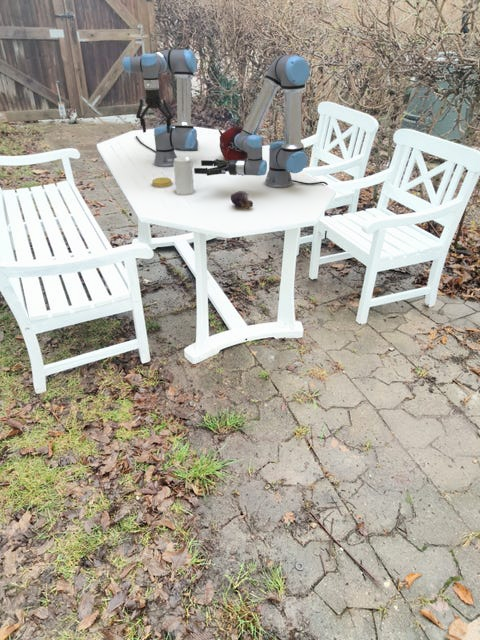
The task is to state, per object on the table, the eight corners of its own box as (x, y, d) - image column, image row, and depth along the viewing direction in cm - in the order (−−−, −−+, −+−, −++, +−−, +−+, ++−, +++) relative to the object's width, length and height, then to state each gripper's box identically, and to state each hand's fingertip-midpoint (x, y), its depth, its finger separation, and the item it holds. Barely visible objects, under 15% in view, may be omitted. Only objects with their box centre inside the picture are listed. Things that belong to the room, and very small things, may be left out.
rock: (244, 204, 234) (227, 207, 230) (243, 188, 230) (225, 190, 226) (255, 208, 224) (237, 211, 220) (254, 190, 221) (236, 193, 216)
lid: (149, 183, 261) (149, 179, 260) (166, 180, 266) (166, 176, 264) (157, 188, 253) (156, 184, 252) (174, 185, 258) (174, 181, 257)
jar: (197, 192, 247) (194, 159, 237) (180, 195, 243) (177, 162, 233) (188, 187, 254) (186, 155, 244) (172, 190, 250) (169, 158, 240)
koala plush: (198, 150, 320) (196, 121, 309) (173, 151, 319) (170, 122, 308) (198, 145, 335) (196, 116, 324) (174, 145, 334) (171, 117, 322)
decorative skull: (216, 132, 305) (216, 129, 282) (250, 124, 304) (252, 121, 281) (223, 164, 312) (223, 164, 288) (256, 157, 311) (259, 156, 288)
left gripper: (126, 89, 230) (132, 133, 242) (173, 90, 227) (177, 134, 239) (131, 87, 236) (137, 130, 248) (177, 88, 233) (180, 131, 245)
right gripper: (232, 182, 227) (192, 181, 231) (241, 167, 247) (204, 166, 251) (231, 167, 223) (190, 166, 226) (241, 153, 242) (203, 153, 246)
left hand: (156, 132), depth 243 cm, fingers open, 13 cm apart
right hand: (197, 166), depth 239 cm, fingers open, 13 cm apart
